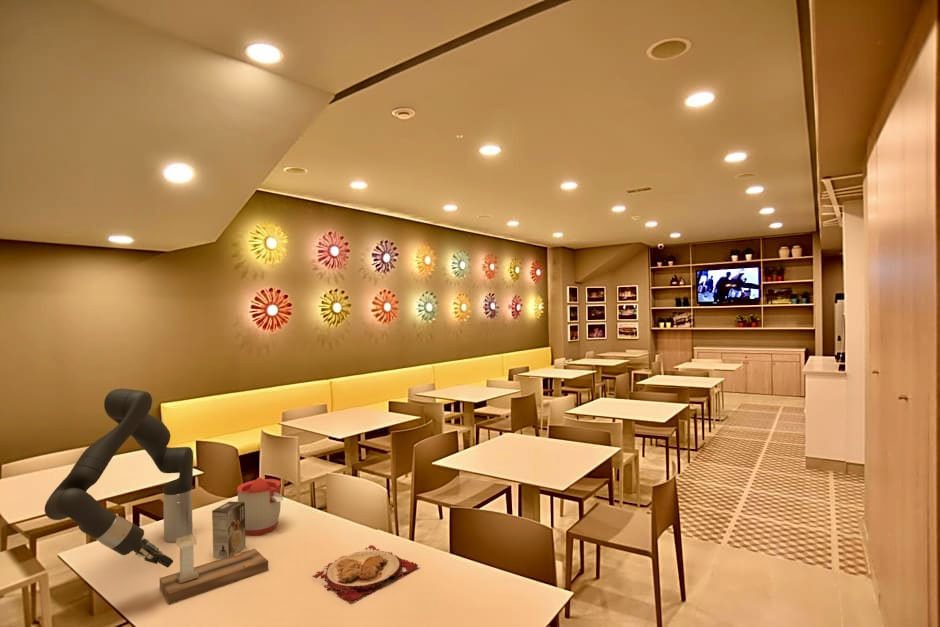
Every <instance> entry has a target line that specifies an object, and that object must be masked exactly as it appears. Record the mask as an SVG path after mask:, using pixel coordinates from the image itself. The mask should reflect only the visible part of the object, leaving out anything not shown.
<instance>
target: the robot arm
mask: <svg viewBox="0 0 940 627" xmlns="http://www.w3.org/2000/svg"><path fill="white" fill-rule="evenodd" d="M152 405H153V397H152V395H151V394H150V392H148V391H146V390H145V391H144V390H141V389H140V390H139V389H131V388H130V389H129V388H116V389H112V390H111V391H110V392H108V393H107V394H106V396H105V398H104V403H103V406H104V408H103V409H104V411H105V414H107V417H109V419H111V420H113V421H114V422H116V423H117V424H118V425H116V426H115V427H114V428H113V429H112V430H110V431H109V432H108V433H107V434H105V435H103V436H101V437H100V438H98V439H97V440H95V441H94V442H93V443H91V444H90V445H89V446H88V447H87V448H85V450H84V451H83V452H82V454H81V455H80V456H79V458H78V459H77V461H76V462H75V464H74V465H73V467H72V469H71V470H70V472H69V473H68V475H67V476H66V477H65V478H64V479H63V480H62V481H61V483H60V484H58V486H57V487H56V488H55V489H54V490H53V492H52V493H51V494H50V496H49V497H48V498H47V500H46V503H45V505H44V514H45V516H46V517H47V518H48V519H49V520H53V521H61V520H62V521H63V520H65V519H67V518H69V519H71V520H73V521H74V522H76V523H77V524H78V529H79V531H81V532H82V533H84V534H85V535H87V536H89V537H90V538H93V539H95V540H96V541H98V542H99V543H100V544H101V545H103V546H105V547H106V548H109V549H110V550H112V551H114V552H116V553H117V554H120V555H121V556H126V555H127V556H128V555H129V554H130V553H131V552H134V554H135V556H137V557H139V558H143V559H144V561H145V562H147V563H152V564H154V565H157V564H160V565H162V566H164V567H165V568H169V567H170V566H171V565H172V564H173V563H174V560H173V558H171V557H170V556H168V555H166V554H165V553H164V552H162V551H161V550H160V548H159V547H157V545H155V544H153V543H151V542H150V540H149V539H147V538H144V536H145V530H144V529H143V528H141V527H140V526H138V525H137V524H135V523H133V522H131V521H130V520H128V519H126V518H124V517H122V516H120V515H118V514H115V513H114V512H112V511H111V510H110V509H107V508H105V507H103V506H102V505H101V503H100V502H98V501H97V500H96V499H95V498H94V497H93V496H92V495H91V494H90V493H88V492H87V491H88V490H89V489H90V488H91V487H92V486H94V485H95V484H96V483H97V482H98V481H99V479H100V478H101V477H102V475H103V473H104V472H105V470H106V468H107V467H108V465H109V463H110V462H111V460H112V458H114V456H115V455H116V453H117V452H118V451H119V449H120V448H122V446H123V445H124V443H126V441H127V440H128V439H129V438H130V437H132V438H133V439H134V440H135V442H136V443H137V444H138V445H139V446H140V448H142V449H143V450H144V451H145V452H146V453H147V455H148V456H149V457H150V458H151V460H152V461H153V463H154V465H155V466H156V468H157V469H158V471H160V473H163V474H179V475H178V478H175V479H173V480H170V481H169V482H166V483H165V484H164V485H163V488H162V489H163V491H162V494H163V495H162V496H163V497H162V499H163V500H162V501H163V541H164V542H166V543H177V542H176V538H180V537H184V536H187V535H191V534H193V477H194V475H193V472H194V471H193V470H194V450H193V449H192V448H191V446H190V447H189V446H178V447H177V446H175V447H168V445H169V443H170V441H171V432H170V429H168V427H167V426H166V424H165V423H164V422H163V421H162V420H160V419H159V418H157V417H155V416H154V415H152V414H150V413H149V412H150V411H151V409H152Z"/></svg>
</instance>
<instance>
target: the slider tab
mask: <svg viewBox="0 0 940 627" xmlns="http://www.w3.org/2000/svg"><path fill="white" fill-rule="evenodd" d="M197 541H198V540H197V537H196V536H195V535H194V534H193V533H192V534H191V535H187V536H184V537H180V538H176V542H175V543H176V546H178V548H179V571H178V572H179V573H178V572H175V573H176V578H177V580H178V582H179V583H182V582H186V581H189V580H192V579H195V578H198V573H197V571H196V570H195V569H194V567H195V566H194V563H195V560H194V545H197V543H198V542H197Z"/></svg>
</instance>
